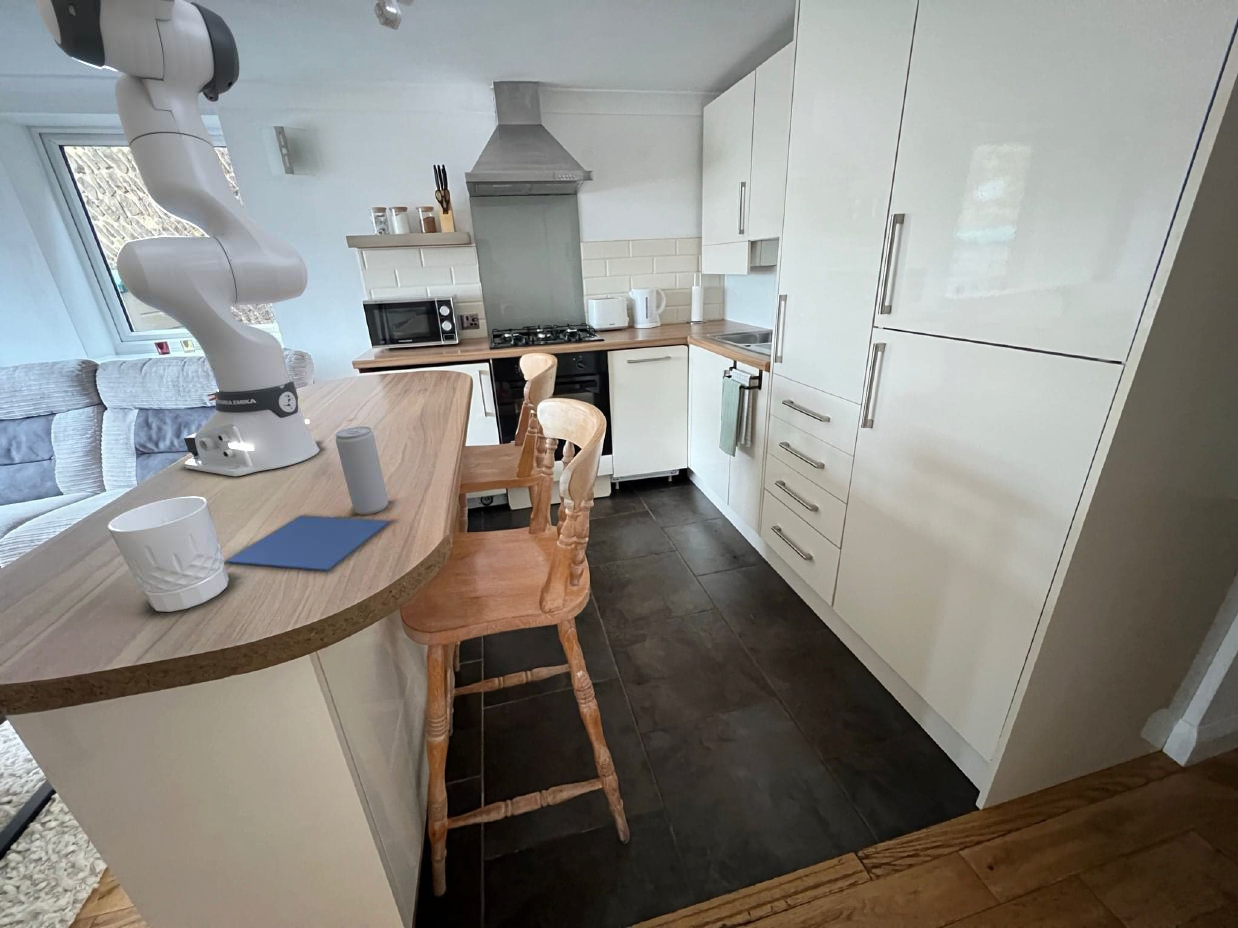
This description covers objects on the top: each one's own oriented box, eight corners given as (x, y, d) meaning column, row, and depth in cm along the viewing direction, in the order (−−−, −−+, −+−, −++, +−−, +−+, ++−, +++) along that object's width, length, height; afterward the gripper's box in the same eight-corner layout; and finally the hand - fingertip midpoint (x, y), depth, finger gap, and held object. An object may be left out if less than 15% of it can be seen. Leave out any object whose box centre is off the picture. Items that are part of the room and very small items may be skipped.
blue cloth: (226, 562, 62) (225, 560, 62) (301, 517, 73) (300, 515, 73) (327, 571, 59) (326, 569, 59) (388, 523, 70) (388, 521, 70)
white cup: (180, 575, 59) (148, 498, 56) (250, 570, 60) (223, 494, 56) (125, 619, 52) (84, 533, 48) (205, 613, 52) (171, 527, 49)
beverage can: (375, 517, 72) (357, 437, 68) (346, 515, 73) (325, 436, 69) (396, 502, 76) (379, 426, 72) (368, 500, 77) (350, 425, 73)
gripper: (378, -58, 53) (432, 65, 54) (119, -175, 39) (196, -4, 39) (400, -122, 49) (458, 13, 49) (117, -281, 34) (204, -88, 35)
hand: (340, 5), depth 44 cm, fingers open, 8 cm apart
